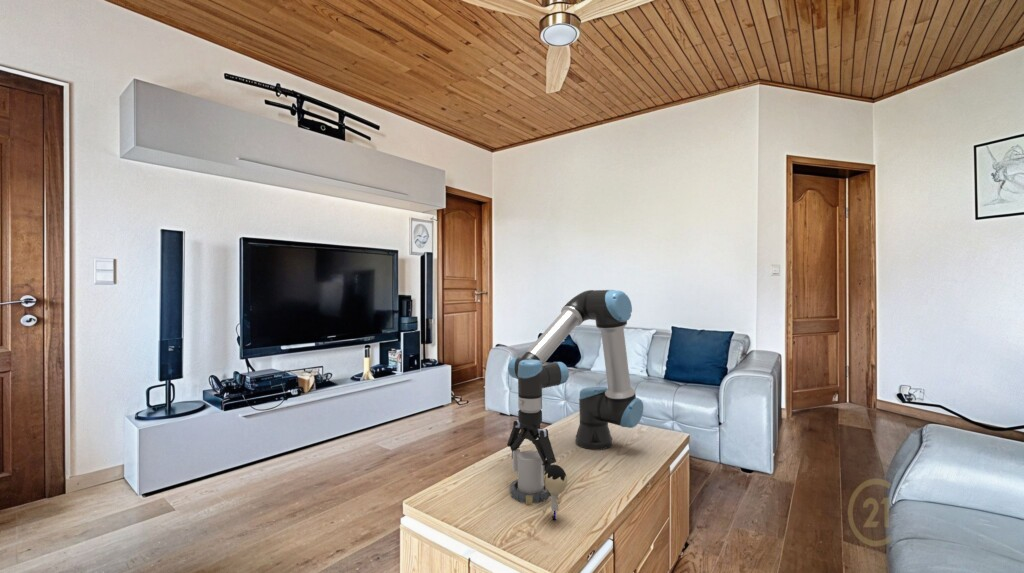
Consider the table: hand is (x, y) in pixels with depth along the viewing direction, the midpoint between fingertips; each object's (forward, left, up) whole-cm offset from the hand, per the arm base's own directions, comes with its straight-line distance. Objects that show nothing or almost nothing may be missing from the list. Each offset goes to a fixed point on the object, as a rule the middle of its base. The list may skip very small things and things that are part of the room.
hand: (530, 477), depth 137 cm
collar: (0, 0, -5) cm, 5 cm away
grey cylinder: (0, 0, -5) cm, 5 cm away
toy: (+5, +16, -5) cm, 17 cm away
